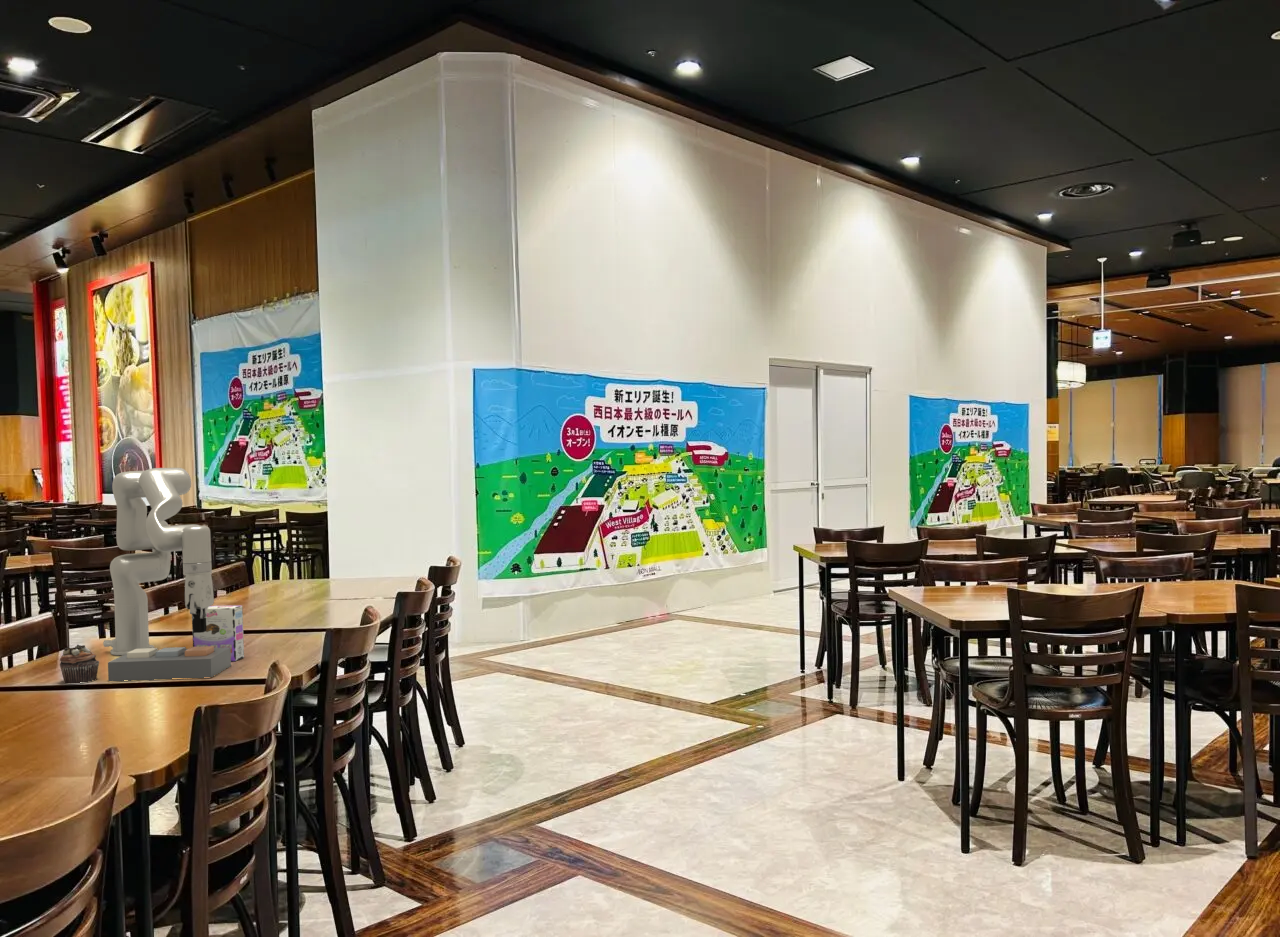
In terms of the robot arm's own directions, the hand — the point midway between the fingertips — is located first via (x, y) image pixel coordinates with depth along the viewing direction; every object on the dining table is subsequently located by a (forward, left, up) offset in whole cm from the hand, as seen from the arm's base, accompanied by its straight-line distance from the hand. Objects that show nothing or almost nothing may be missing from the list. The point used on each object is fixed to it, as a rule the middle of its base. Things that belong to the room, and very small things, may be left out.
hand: (199, 632), depth 281 cm
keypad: (-8, 0, -12) cm, 14 cm away
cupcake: (-31, -5, -12) cm, 34 cm away
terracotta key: (0, 0, -8) cm, 8 cm away
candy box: (-1, +18, -12) cm, 22 cm away
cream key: (-16, 0, -8) cm, 18 cm away
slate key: (-8, 0, -8) cm, 12 cm away
